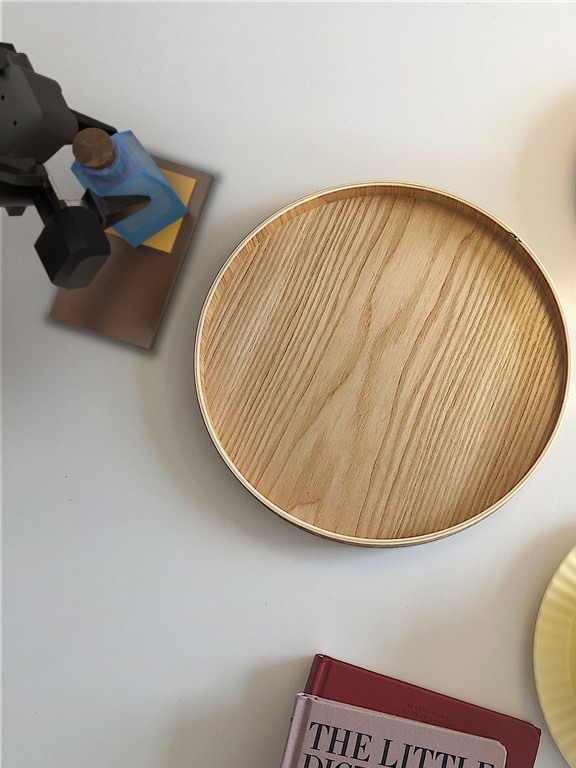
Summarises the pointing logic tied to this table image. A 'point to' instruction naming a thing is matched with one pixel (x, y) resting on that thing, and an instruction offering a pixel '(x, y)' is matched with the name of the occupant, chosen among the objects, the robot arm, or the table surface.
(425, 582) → the table surface
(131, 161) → the perfume bottle
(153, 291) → the stand
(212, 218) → the table surface
